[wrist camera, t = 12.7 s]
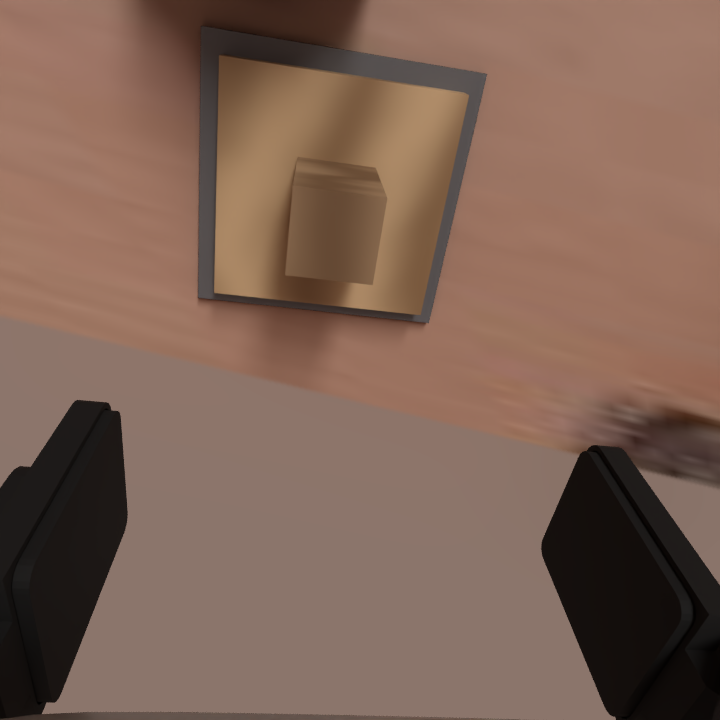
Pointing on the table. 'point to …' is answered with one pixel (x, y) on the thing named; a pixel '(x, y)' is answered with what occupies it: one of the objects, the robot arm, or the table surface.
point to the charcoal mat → (335, 61)
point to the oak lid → (330, 184)
